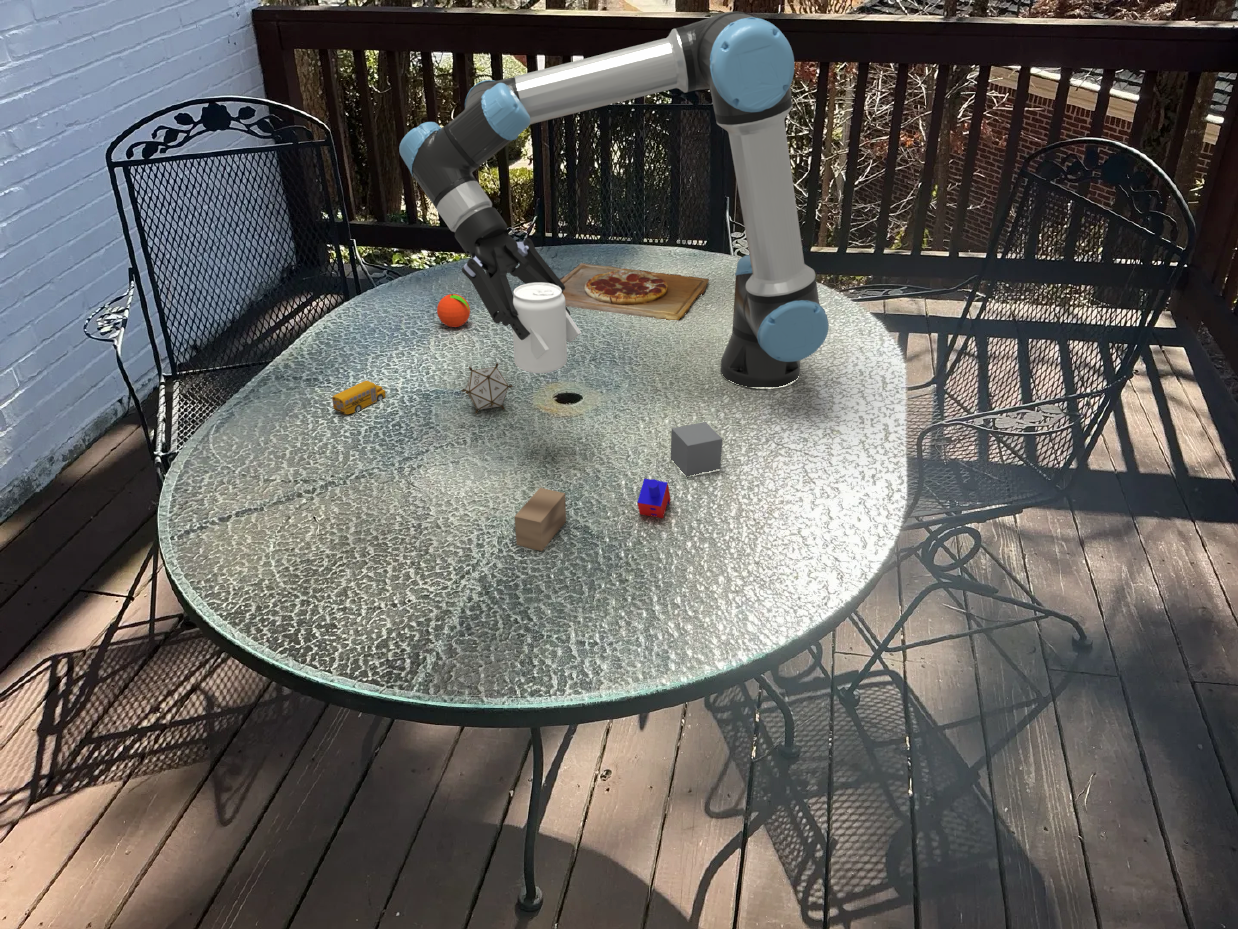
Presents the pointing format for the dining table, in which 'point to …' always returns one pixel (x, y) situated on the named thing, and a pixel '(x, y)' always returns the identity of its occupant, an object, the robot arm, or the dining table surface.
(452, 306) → the clementine
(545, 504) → the walnut brick
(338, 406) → the toy bus
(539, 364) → the beverage can
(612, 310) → the pizza
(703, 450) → the grey cube
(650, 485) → the toy building block
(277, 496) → the dining table surface
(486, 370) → the game die
